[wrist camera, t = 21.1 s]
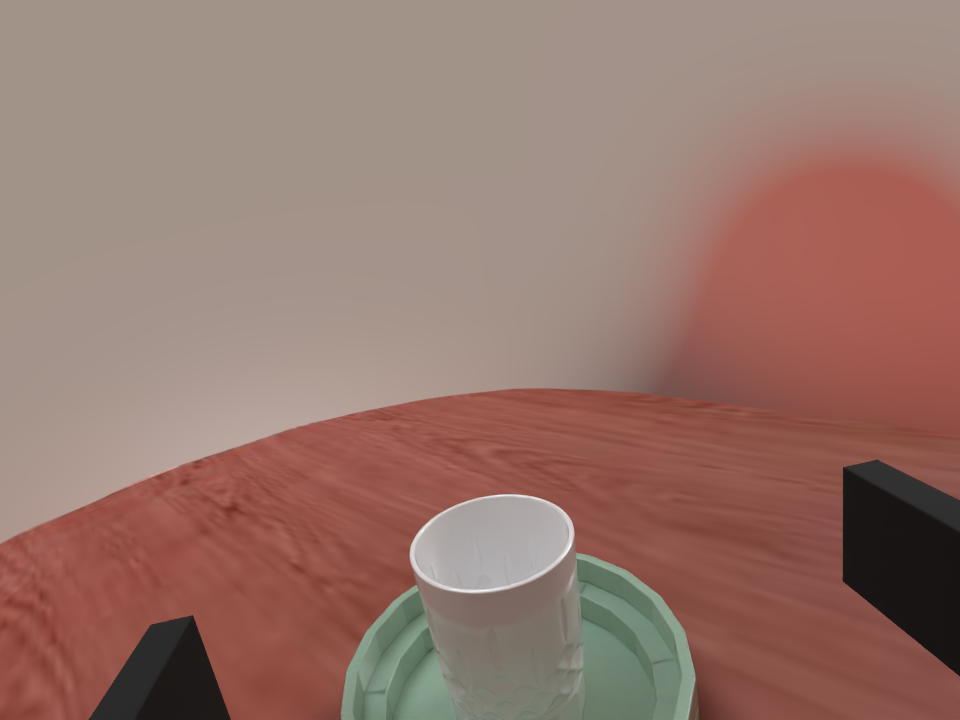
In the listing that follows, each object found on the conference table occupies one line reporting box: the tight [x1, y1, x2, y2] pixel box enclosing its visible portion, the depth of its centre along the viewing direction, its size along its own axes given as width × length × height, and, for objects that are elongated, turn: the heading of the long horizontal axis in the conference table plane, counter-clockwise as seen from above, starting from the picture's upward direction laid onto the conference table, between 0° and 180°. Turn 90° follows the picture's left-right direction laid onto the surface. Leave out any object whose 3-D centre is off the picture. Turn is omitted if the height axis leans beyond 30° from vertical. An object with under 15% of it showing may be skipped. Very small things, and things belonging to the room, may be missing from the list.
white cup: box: [410, 494, 586, 720], centre depth 27 cm, size 8×8×10 cm
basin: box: [340, 553, 699, 720], centre depth 28 cm, size 17×17×4 cm
